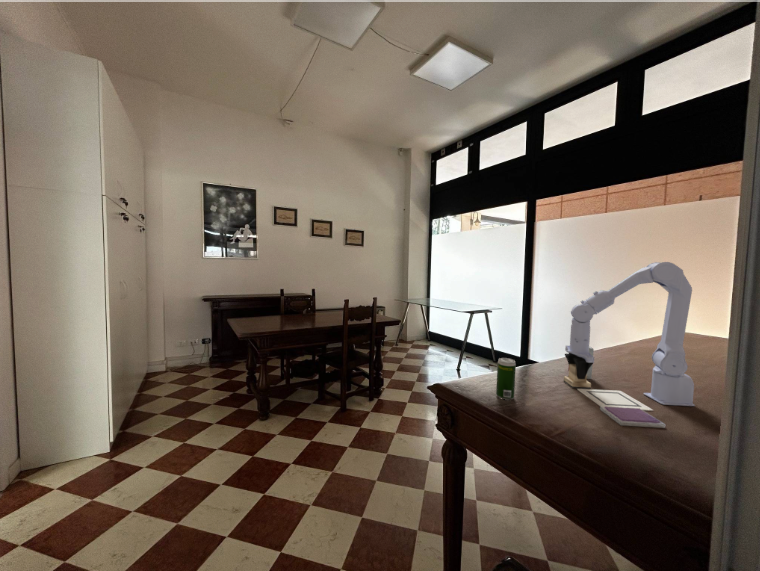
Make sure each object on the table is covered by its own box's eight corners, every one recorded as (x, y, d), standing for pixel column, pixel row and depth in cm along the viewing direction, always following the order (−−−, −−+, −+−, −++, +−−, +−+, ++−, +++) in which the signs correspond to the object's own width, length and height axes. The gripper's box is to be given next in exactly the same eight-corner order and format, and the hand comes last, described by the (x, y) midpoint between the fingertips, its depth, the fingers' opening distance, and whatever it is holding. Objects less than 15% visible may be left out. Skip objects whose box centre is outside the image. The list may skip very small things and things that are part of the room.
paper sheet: (620, 391, 105) (620, 390, 105) (653, 411, 91) (653, 409, 91) (577, 389, 106) (577, 388, 106) (603, 408, 92) (603, 407, 92)
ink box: (567, 370, 125) (569, 342, 125) (580, 371, 125) (582, 342, 124) (578, 378, 117) (580, 347, 116) (592, 379, 116) (594, 348, 116)
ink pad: (639, 411, 91) (639, 407, 90) (665, 427, 82) (665, 423, 81) (599, 409, 91) (600, 405, 91) (620, 425, 82) (621, 420, 82)
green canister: (517, 400, 96) (519, 363, 96) (500, 400, 96) (502, 362, 95) (509, 393, 102) (511, 357, 101) (493, 393, 102) (494, 357, 101)
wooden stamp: (580, 382, 113) (582, 363, 112) (590, 389, 107) (592, 369, 106) (563, 381, 113) (564, 362, 113) (572, 388, 107) (573, 368, 107)
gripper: (557, 333, 116) (555, 369, 117) (579, 343, 102) (576, 383, 103) (577, 334, 116) (575, 369, 117) (602, 344, 101) (599, 384, 102)
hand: (577, 376), depth 110 cm, fingers closed on wooden stamp, 4 cm apart
